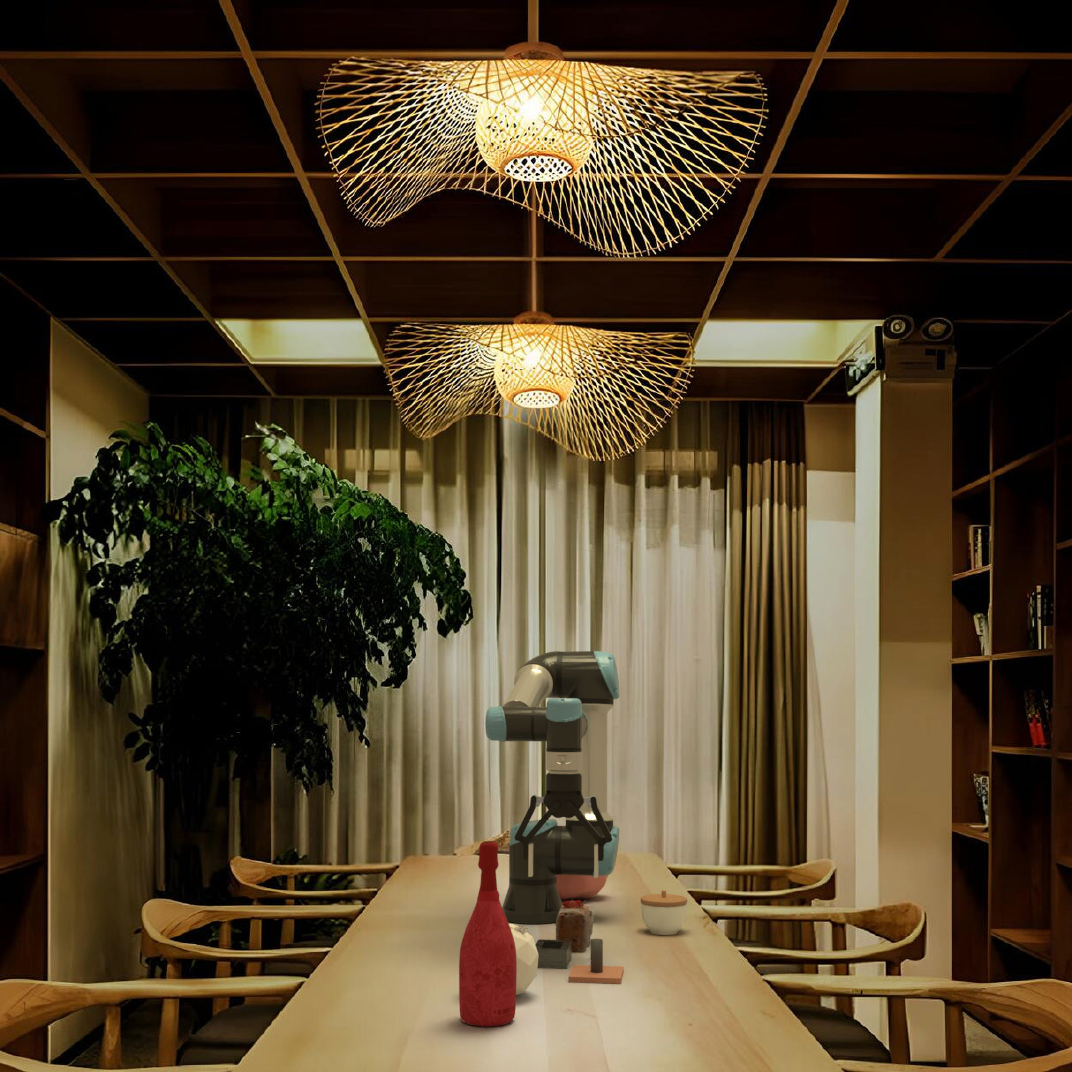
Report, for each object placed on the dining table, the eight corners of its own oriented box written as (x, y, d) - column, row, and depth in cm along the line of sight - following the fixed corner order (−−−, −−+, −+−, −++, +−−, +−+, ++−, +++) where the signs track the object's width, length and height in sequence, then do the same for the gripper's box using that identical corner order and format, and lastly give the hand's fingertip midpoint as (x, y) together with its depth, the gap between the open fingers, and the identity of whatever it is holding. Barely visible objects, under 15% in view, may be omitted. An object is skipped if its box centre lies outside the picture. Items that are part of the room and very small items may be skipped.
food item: (558, 939, 280) (558, 894, 281) (593, 940, 280) (593, 894, 281) (554, 952, 267) (554, 905, 268) (591, 953, 266) (591, 905, 267)
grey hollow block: (538, 956, 262) (538, 939, 263) (571, 957, 261) (571, 940, 262) (532, 967, 252) (532, 949, 253) (566, 968, 251) (566, 950, 252)
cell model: (612, 905, 322) (612, 860, 323) (534, 904, 322) (534, 859, 323) (609, 894, 338) (609, 851, 340) (535, 893, 339) (535, 850, 340)
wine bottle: (481, 1010, 220) (483, 836, 223) (527, 1019, 214) (528, 840, 218) (446, 1022, 212) (448, 842, 215) (493, 1032, 206) (494, 846, 210)
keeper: (573, 970, 250) (573, 934, 251) (623, 971, 249) (623, 935, 250) (568, 982, 240) (568, 944, 241) (620, 983, 239) (620, 946, 240)
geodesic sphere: (565, 958, 235) (522, 897, 238) (549, 975, 222) (504, 910, 225) (506, 1003, 237) (464, 941, 240) (487, 1022, 223) (443, 956, 226)
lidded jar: (685, 938, 281) (685, 895, 282) (637, 936, 283) (637, 893, 284) (689, 929, 292) (688, 887, 293) (643, 926, 294) (643, 886, 295)
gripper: (502, 772, 259) (501, 878, 256) (623, 774, 257) (623, 880, 254) (506, 770, 266) (505, 872, 264) (623, 771, 264) (624, 874, 262)
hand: (563, 876), depth 259 cm, fingers open, 13 cm apart
